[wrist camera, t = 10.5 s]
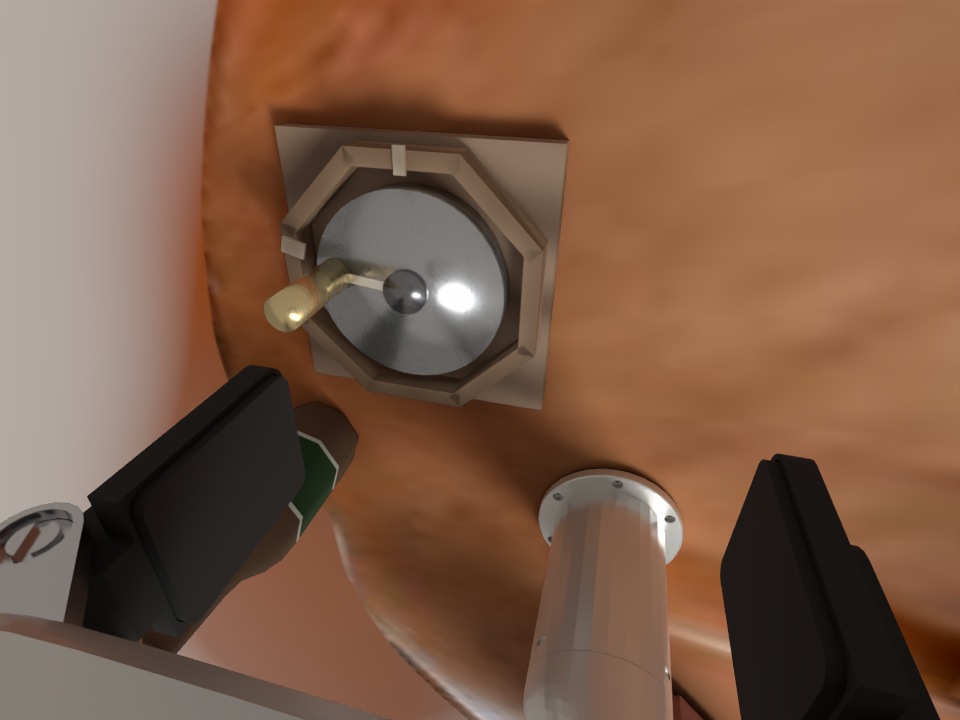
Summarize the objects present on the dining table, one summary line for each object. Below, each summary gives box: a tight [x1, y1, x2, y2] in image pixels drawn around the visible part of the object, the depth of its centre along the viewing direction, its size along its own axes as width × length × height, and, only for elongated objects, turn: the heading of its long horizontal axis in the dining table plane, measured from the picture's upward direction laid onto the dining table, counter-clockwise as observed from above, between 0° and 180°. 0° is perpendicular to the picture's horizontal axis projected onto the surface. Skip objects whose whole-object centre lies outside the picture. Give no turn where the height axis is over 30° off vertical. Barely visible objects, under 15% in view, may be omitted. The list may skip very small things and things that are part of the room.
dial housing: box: [275, 123, 569, 410], centre depth 39 cm, size 20×20×4 cm
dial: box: [264, 183, 510, 375], centre depth 36 cm, size 14×14×9 cm
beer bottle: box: [142, 402, 358, 654], centre depth 42 cm, size 8×8×24 cm
